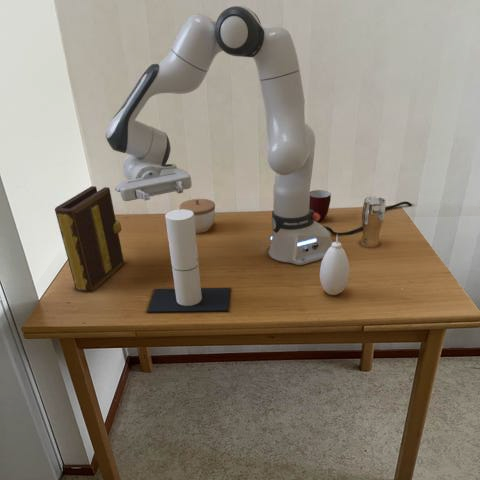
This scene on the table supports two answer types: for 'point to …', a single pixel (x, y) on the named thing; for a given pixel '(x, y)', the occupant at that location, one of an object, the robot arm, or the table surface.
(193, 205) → the lidded bowl
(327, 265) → the white bulb air blower
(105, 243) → the book
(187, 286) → the cylindrical container
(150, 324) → the table surface
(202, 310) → the felt mat
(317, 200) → the mug
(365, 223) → the beer glass
